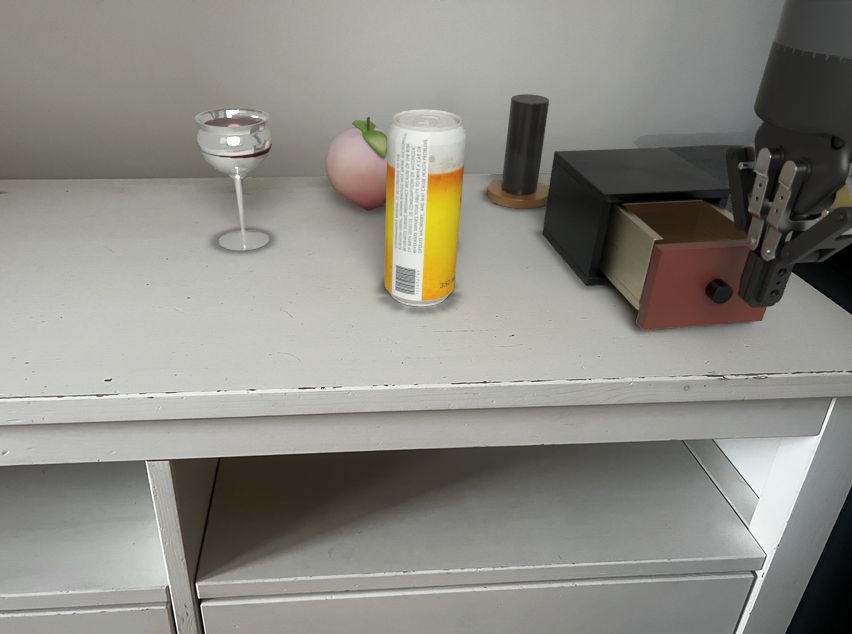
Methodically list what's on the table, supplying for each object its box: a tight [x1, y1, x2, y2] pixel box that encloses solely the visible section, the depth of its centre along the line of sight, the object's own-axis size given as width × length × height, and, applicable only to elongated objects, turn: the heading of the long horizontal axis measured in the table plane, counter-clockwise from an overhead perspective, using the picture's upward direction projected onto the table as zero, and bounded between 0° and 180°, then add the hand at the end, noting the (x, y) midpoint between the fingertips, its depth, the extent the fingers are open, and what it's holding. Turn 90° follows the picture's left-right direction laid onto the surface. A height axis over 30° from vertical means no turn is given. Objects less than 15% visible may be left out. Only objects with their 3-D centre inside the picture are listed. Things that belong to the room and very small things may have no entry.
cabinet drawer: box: [598, 198, 768, 331], centre depth 59 cm, size 12×10×7 cm
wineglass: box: [194, 106, 273, 252], centre depth 68 cm, size 7×7×12 cm
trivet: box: [486, 178, 549, 210], centre depth 82 cm, size 7×7×1 cm
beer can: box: [383, 108, 467, 307], centre depth 59 cm, size 6×6×15 cm
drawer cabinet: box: [542, 147, 731, 287], centre depth 68 cm, size 12×12×9 cm
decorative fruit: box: [324, 116, 387, 211], centre depth 76 cm, size 9×8×10 cm
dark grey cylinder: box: [501, 93, 550, 195], centre depth 79 cm, size 4×4×10 cm
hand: (756, 302), depth 51 cm, fingers closed
